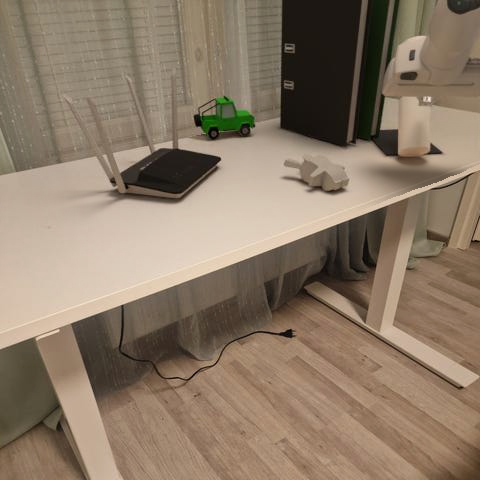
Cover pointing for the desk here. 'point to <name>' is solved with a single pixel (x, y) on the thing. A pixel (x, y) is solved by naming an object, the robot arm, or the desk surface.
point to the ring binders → (335, 66)
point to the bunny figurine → (320, 172)
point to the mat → (394, 143)
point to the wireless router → (151, 157)
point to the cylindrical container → (413, 124)
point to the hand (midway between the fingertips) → (425, 103)
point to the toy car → (224, 119)
